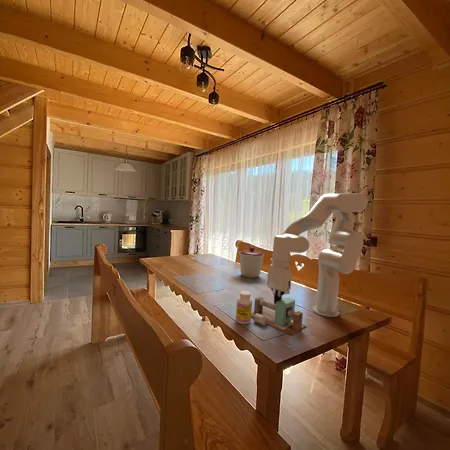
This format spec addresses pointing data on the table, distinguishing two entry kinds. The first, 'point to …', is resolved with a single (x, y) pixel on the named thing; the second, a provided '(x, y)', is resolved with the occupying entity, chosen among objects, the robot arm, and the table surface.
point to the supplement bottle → (244, 308)
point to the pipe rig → (287, 328)
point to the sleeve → (260, 319)
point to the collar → (283, 311)
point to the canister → (251, 262)
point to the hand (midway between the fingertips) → (277, 303)
